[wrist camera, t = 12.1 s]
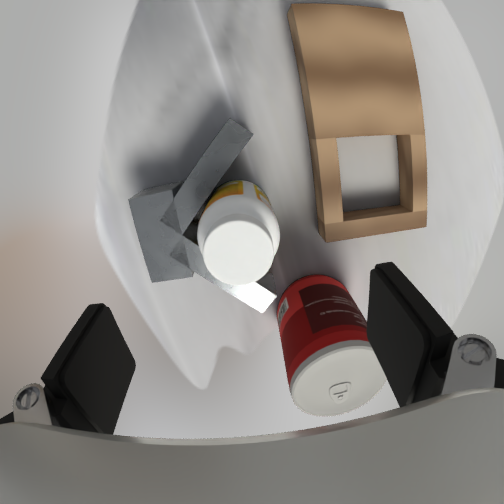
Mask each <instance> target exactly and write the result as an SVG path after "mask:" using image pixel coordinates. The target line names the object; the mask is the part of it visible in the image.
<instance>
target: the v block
mask: <svg viewBox="0 0 504 504" xmlns="http://www.w3.org/2000/svg"><path fill="white" fill-rule="evenodd" d="M252 136H253V133H251V132H250V131H248V130H247V129H245V128H244V127H243V126H241V125H240V124H238V123H237V122H235V121H234V120H232V119H231V118H229V120H228V121H227V122H226V124H225V125H224V126H223V128H222V129H221V130H220V132H219V133H218V135H217V136H216V137H215V139H214V140H213V141H212V143H211V144H210V146H209V147H208V148H207V150H206V151H205V153H204V154H203V156H202V157H201V158H200V160H199V161H198V163H197V164H196V166H195V167H194V169H193V170H192V172H191V173H190V175H189V176H188V178H187V179H186V181H185V182H184V184H183V183H182V181H181V182H176V183H171V184H166V185H162V186H157V187H153V188H148V189H144V190H143V191H141V192H139V193H138V194H136V195H135V196H133V197H132V198H130V199H129V204H130V208H131V212H132V216H133V220H134V224H135V227H136V231H137V235H138V238H139V242H140V245H141V249H142V252H143V255H144V259H145V262H146V265H147V268H148V272H149V275H150V278H151V281H152V283H153V282H160V281H167V280H174V279H181V278H188V277H193V274H194V272H196V273H197V274H199V275H200V276H202V277H204V278H205V279H207V280H208V281H210V282H212V283H213V284H215V285H217V286H218V287H220V288H221V289H223V290H225V291H226V292H228V293H230V294H231V295H233V296H235V297H236V298H238V299H240V300H241V301H243V302H245V303H246V304H248V305H250V306H251V307H253V308H255V309H256V310H258V311H260V312H262V313H263V312H264V311H265V309H266V308H267V307H268V306H269V305H270V304H271V303H272V302H273V300H274V299H275V298H276V297H277V293H276V288H275V283H274V278H273V274H272V273H270V272H269V271H267V273H266V274H265V275H264V276H263V277H262V278H260V279H259V280H257V281H255V282H253V283H251V284H247V285H230V284H226V283H224V282H221V281H220V280H218V279H216V278H215V277H214V276H213V275H212V274H211V273H210V272H209V270H208V269H207V267H206V265H205V263H204V259H203V255H202V253H201V251H200V249H199V245H198V240H197V230H198V225H197V224H196V223H194V222H192V220H193V218H194V217H195V215H196V214H197V212H198V211H199V209H200V208H201V206H202V205H203V203H204V202H205V201H206V199H207V198H208V196H209V195H210V193H211V192H212V190H213V189H214V188H215V186H216V185H217V183H218V182H219V181H220V179H221V178H222V176H223V175H224V174H225V172H226V171H227V169H228V168H229V167H230V165H231V164H232V163H233V161H234V160H235V158H236V157H237V156H238V154H239V153H240V152H241V150H242V149H243V148H244V146H245V145H246V144H247V142H248V141H249V140H250V138H251V137H252Z"/></svg>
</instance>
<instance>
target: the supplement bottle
mask: <svg viewBox="0 0 504 504" xmlns="http://www.w3.org/2000/svg"><path fill="white" fill-rule="evenodd" d="M197 240H198V245H199V249H200V251H201V253H202V255H203V259H204V263H205V265H206V267H207V269H208V270H209V272H210V273H211V274H212V275H213V276H214V277H215V278H216V279H218V280H220V281H221V282H224V283H226V284H230V285H247V284H251V283H253V282H255V281H257V280H259V279H260V278H262V277H263V276H264V275H265V274H266V273H267V271H268V270H269V268H270V267H271V265H272V262H273V258H274V256H275V254H276V252H277V249H278V247H279V242H280V230H279V224H278V221H277V218H276V216H275V214H274V211H273V209H272V207H271V204H270V202H269V199H268V197H267V196H266V194H265V193H264V192H263V190H262V189H261V188H259V187H258V186H257V185H255V184H253V183H251V182H248V181H244V180H234V181H230V182H227V183H224V184H222V185H221V186H219V187H218V188H217V189H216V190H215V191H214V192H213V194H212V195H211V197H210V199H209V201H208V203H207V205H206V207H205V210H204V212H203V214H202V216H201V219H200V221H199V225H198V230H197Z"/></svg>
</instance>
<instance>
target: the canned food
mask: <svg viewBox="0 0 504 504" xmlns="http://www.w3.org/2000/svg"><path fill="white" fill-rule="evenodd" d="M277 320H278V326H279V332H280V337H281V342H282V349H283V355H284V361H285V366H286V372H287V378H288V383H289V388H290V393H291V395H292V399H293V402H294V404H295V405H296V406H297V407H298V408H299V409H300V410H301V411H303V412H305V413H307V414H310V415H314V416H322V417H328V416H336V415H341V414H344V413H348V412H350V411H353V410H355V409H357V408H359V407H361V406H362V405H364V404H366V403H367V402H368V401H370V400H371V399H372V398H374V397H375V396H376V395H377V394H378V392H379V391H380V390H381V389H382V387H383V386H384V384H385V382H386V380H387V378H386V376H385V374H384V371H383V369H382V367H381V365H380V363H379V361H378V359H377V357H376V355H375V353H374V351H373V349H372V347H371V345H370V343H369V341H368V338H367V332H366V330H367V321H366V320H365V318H364V316H363V315H362V313H361V312H360V310H359V308H358V307H357V305H356V303H355V302H354V300H353V298H352V297H351V295H350V294H349V292H348V291H347V289H346V288H345V286H344V285H343V284H341V283H340V282H339V281H337V280H335V279H333V278H331V277H329V276H325V275H309V276H306V277H303V278H301V279H299V280H297V281H295V282H294V283H293V284H291V285H290V286H289V287H288V288H287V289H286V290H285V292H284V293H283V295H282V297H281V299H280V302H279V305H278V309H277Z"/></svg>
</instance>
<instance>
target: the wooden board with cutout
mask: <svg viewBox="0 0 504 504" xmlns="http://www.w3.org/2000/svg"><path fill="white" fill-rule="evenodd" d="M287 17H288V21H289V26H290V31H291V35H292V40H293V45H294V50H295V56H296V61H297V66H298V72H299V78H300V83H301V89H302V96H303V102H304V108H305V115H306V122H307V129H308V136H309V144H310V151H311V160H312V168H313V177H314V186H315V196H316V206H317V217H318V229H319V234H320V235H321V237H322V238H323V239H324V241H325V242H326V243H327V242H334V241H340V240H346V239H353V238H359V237H365V236H372V235H378V234H385V233H391V232H397V231H404V230H410V229H416V228H422V227H426V223H427V159H426V142H425V129H424V119H423V110H422V102H421V94H420V88H419V81H418V75H417V70H416V64H415V59H414V55H413V50H412V45H411V41H410V37H409V33H408V29H407V25H406V21H405V18H404V14H403V12H400V11H394V10H388V9H381V8H374V7H365V6H355V5H342V4H315V3H302V4H291V6H290V9H289V11H288V13H287ZM374 135H397V145H398V160H399V180H400V205H395V206H387V207H379V208H372V209H364V210H356V211H349V212H343V208H342V194H341V181H340V170H339V160H338V150H337V142H336V138H339V137H354V136H374Z"/></svg>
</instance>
